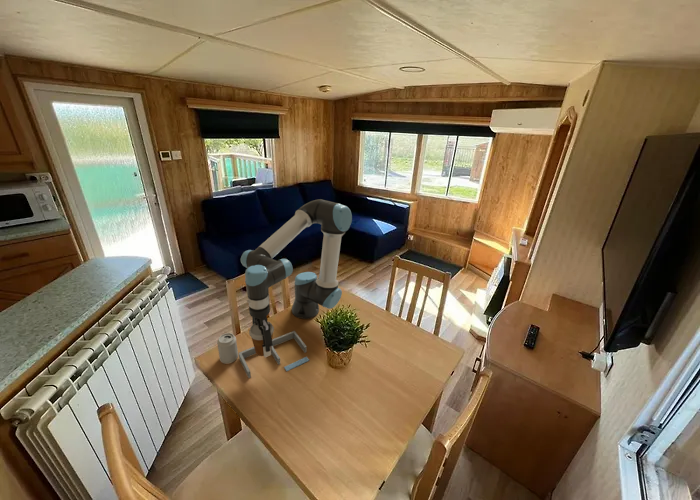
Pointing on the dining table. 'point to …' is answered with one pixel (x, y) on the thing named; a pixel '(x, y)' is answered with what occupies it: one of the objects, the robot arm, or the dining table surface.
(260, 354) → the disposable coffee cup
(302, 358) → the blue rectangular block
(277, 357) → the comb rack
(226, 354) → the can
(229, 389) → the dining table surface
